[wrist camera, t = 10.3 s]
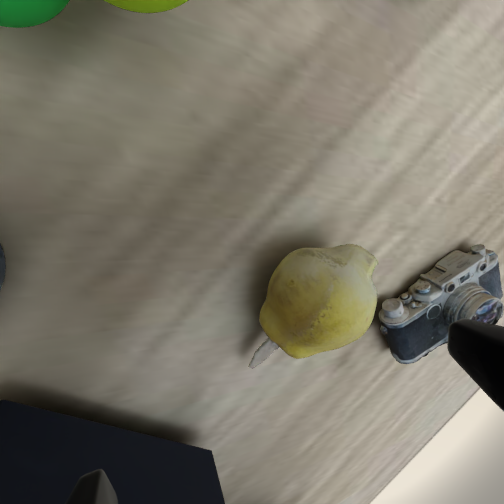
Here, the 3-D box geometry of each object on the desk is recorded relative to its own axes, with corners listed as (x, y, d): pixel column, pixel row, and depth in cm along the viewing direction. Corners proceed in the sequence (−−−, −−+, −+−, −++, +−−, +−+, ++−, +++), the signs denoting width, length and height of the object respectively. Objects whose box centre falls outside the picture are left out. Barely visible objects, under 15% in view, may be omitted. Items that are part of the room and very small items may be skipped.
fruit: (205, 341, 21) (295, 204, 18) (271, 346, 25) (353, 234, 22) (249, 425, 17) (374, 265, 14) (319, 415, 21) (426, 288, 18)
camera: (364, 306, 24) (407, 338, 20) (476, 233, 25) (536, 251, 22) (382, 354, 26) (424, 391, 23) (484, 285, 28) (539, 309, 24)
